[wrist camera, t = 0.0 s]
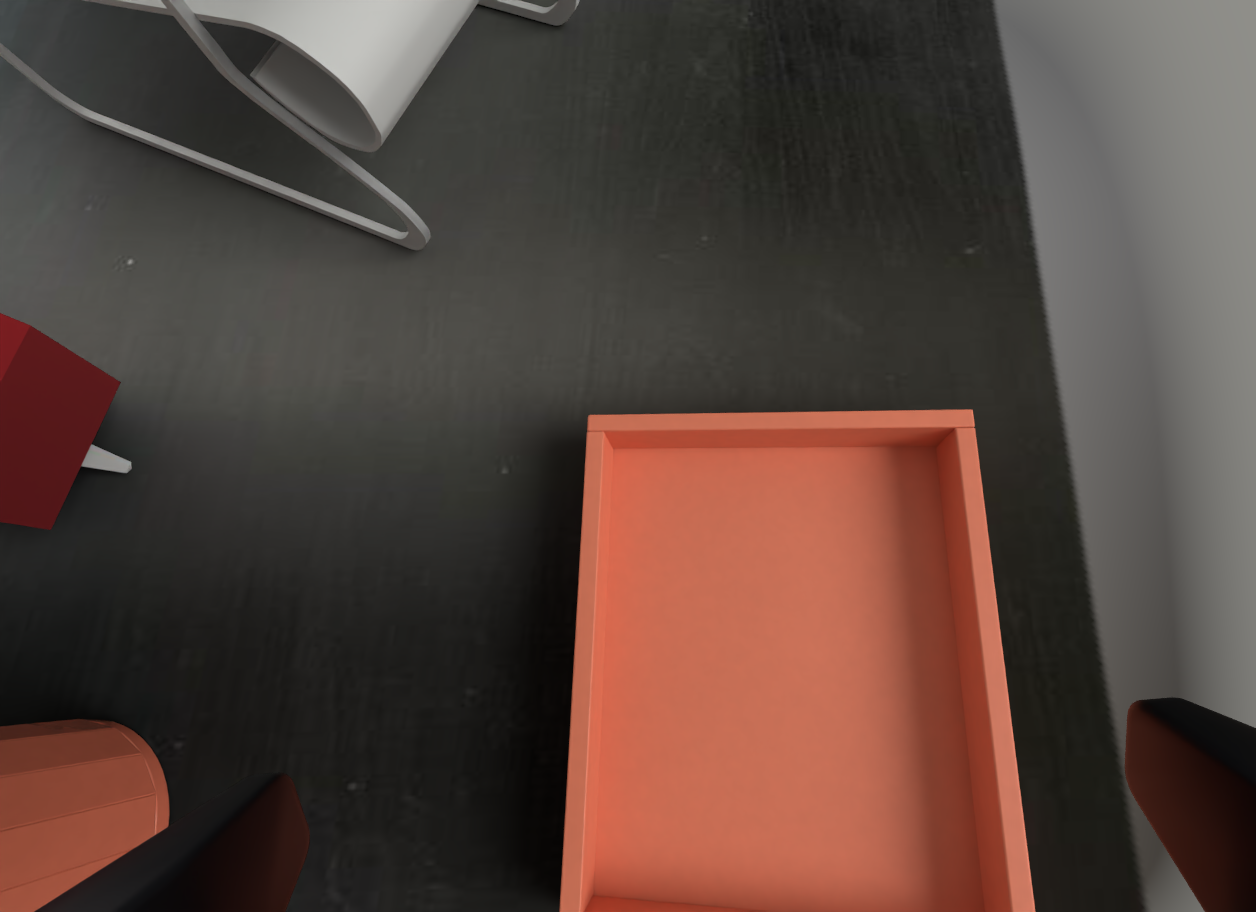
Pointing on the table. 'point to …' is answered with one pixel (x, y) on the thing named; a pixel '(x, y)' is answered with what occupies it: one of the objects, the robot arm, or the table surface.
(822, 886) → the coral tray
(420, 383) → the table surface
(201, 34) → the chair
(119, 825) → the coral cup
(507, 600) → the table surface
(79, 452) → the alarm clock
